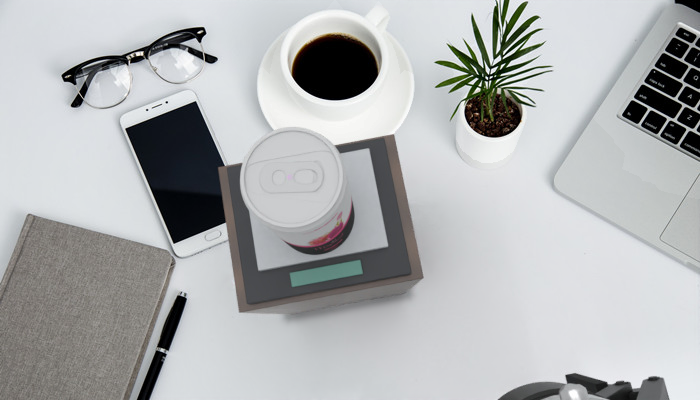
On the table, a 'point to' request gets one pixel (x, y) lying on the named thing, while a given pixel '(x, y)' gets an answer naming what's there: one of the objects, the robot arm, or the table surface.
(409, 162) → the table surface
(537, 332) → the table surface
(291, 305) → the stand
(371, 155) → the scale
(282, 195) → the beverage can
